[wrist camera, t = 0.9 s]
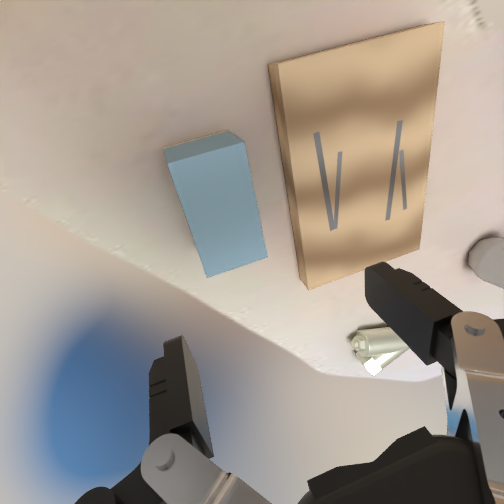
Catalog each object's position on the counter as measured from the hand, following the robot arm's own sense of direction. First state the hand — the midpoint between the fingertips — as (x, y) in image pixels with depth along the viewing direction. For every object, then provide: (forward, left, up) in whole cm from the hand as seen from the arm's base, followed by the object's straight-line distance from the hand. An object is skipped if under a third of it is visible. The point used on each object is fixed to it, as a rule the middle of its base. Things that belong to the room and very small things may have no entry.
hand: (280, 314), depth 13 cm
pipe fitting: (+25, +16, -16) cm, 34 cm away
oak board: (+2, +13, -15) cm, 20 cm away
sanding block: (0, 0, -16) cm, 16 cm away
